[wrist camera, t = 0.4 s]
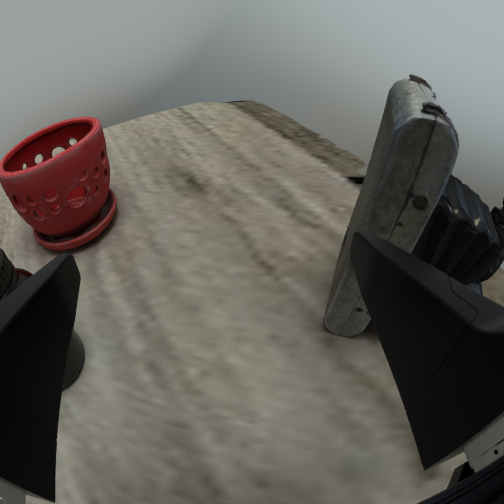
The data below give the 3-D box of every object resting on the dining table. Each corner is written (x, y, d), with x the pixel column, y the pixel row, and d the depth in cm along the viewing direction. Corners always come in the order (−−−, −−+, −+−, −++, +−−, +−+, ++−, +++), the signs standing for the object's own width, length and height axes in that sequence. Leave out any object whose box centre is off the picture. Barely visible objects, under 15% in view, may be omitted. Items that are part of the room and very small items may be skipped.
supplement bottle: (97, 337, 25) (34, 240, 16) (69, 405, 20) (-22, 330, 11) (43, 319, 25) (-19, 230, 17) (15, 377, 21) (-67, 300, 12)
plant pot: (130, 186, 40) (113, 105, 32) (112, 257, 31) (77, 160, 23) (51, 198, 39) (26, 127, 30) (19, 265, 30) (-25, 185, 21)
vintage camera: (464, 372, 23) (607, 211, 8) (315, 333, 26) (402, 95, 11) (460, 295, 29) (552, 143, 15) (335, 256, 32) (391, 65, 18)
